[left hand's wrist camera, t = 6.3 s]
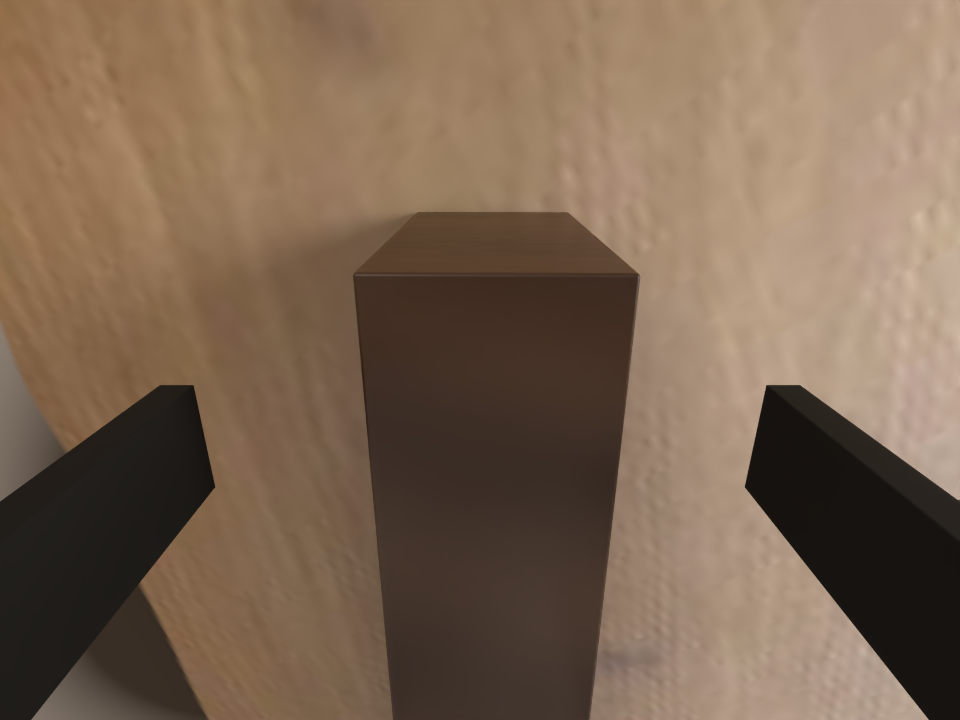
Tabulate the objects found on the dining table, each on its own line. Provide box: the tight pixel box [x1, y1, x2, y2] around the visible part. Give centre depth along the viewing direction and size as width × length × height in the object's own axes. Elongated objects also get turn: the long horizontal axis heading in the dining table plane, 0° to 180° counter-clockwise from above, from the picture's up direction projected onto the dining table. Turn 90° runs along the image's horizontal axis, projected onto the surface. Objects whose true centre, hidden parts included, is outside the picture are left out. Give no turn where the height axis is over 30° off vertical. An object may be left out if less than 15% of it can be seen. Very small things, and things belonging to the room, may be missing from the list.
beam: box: [353, 212, 640, 720], centre depth 19 cm, size 30×5×9 cm, turn 0°
